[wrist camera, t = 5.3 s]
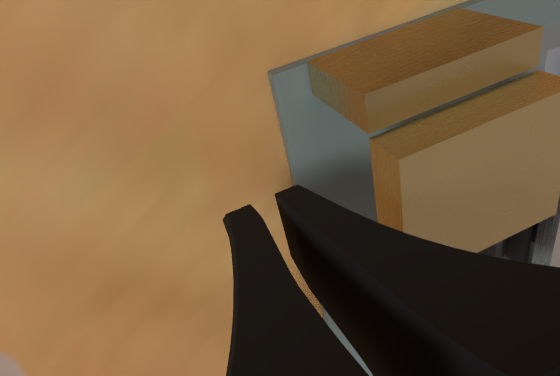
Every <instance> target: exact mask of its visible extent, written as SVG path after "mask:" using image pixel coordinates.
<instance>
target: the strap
mask: <svg viewBox="0 0 560 376" xmlns="http://www.w3.org/2000/svg"><path fill="white" fill-rule="evenodd" d="M531 263H533V264H540V265H547V266H554V267H560V196H559V201H558V206H557V212H556V214H555V215H553V216H551V217H549V218H547V219H545V220H543V221H541V222H539V223H538V229H537V234H536V240H535V245H534V250H533V256H532V261H531Z"/></svg>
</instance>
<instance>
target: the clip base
mask: <svg viewBox="0 0 560 376" xmlns="http://www.w3.org/2000/svg"><path fill="white" fill-rule="evenodd" d="M456 8H462V9H467V10H471V11H476V12H480V13H485V14H489V15H494V16H498V17H503V18H507V19H512V20H516V21H521V22H525V23H530V24H534V25H539V26H543V27H544V28H543V36H542V44H541V51H540V59H539V66H537V67H535V68H532V69H530V70H527V71H525V72H522V73H520V74H517V75H515V76H512V77H510V78H507V79H505V80H502V81H500V82H497V83H495V84H493V85H490V86H488V87H485V88H483V89H480V90H478V91H475V92H473V93H470V94H468V95H465V96H463V97H460V98H458V99H455V100H453V101H450V102H448V103H445V104H443V105H440V106H438V107H435V108H433V109H430V110H428V111H425V112H423V113H420V114H418V115H415V116H413V117H410V118H408V119H406V120H403V121H401V122H398V123H396V124H393V125H391V126H388V127H386V128H383V129H381V130H378V131H376V132H373V133H371V134H367V133H366V132H364V131H363V130H362V129H360V128H359V127H357V126H356V125H355V124H353V123H352V122H350V121H349V120H348V119H346V118H345V117H343V116H342V115H341V114H339V113H338V112H336V111H335V110H333V109H332V108H331V107H329V106H328V105H326V104H325V103H324V102H322V101H321V100H319V99H318V98H317V97H315V96H314V95H313V94H312V88H311V83H310V77H309V71H308V65H307V61H308V60H311V59H314V58H317V57H320V56H322V55H325V54H328V53H331V52H334V51H337V50H339V49H342V48H345V47H348V46H351V45H354V44H356V43H359V42H362V41H365V40H368V39H371V38H373V37H376V36H379V35H382V34H385V33H388V32H391V31H393V30H396V29H399V28H402V27H405V26H408V25H410V24H413V23H416V22H419V21H422V20H425V19H427V18H430V17H433V16H436V15H439V14H442V13H444V12H447V11H450V10H453V9H456ZM536 70H541V71H544V72H547V73H550V74H553V75H557V76H560V0H470V1H467V2H464V3H461V4H458V5H455V6H453V7H450V8H447V9H444V10H441V11H438V12H435V13H433V14H430V15H427V16H424V17H421V18H418V19H415V20H413V21H410V22H407V23H404V24H401V25H398V26H396V27H393V28H390V29H387V30H384V31H381V32H378V33H376V34H373V35H370V36H367V37H364V38H361V39H358V40H356V41H353V42H350V43H347V44H344V45H341V46H339V47H336V48H333V49H330V50H327V51H324V52H321V53H319V54H316V55H313V56H310V57H307V58H304V59H301V60H299V61H296V62H293V63H290V64H287V65H284V66H282V67H279V68H276V69H273V70H270V71H268V75H269V80H270V84H271V88H272V93H273V97H274V102H275V106H276V110H277V115H278V119H279V123H280V128H281V132H282V136H283V141H284V145H285V150H286V154H287V158H288V163H289V167H290V171H291V176H292V180H293V185H294V186H295V185H297V184H298V185H300V186H302V187H304V188H306V189H308V190H310V191H312V192H314V193H316V194H318V195H320V196H322V197H324V198H326V199H328V200H330V201H332V202H334V203H336V204H338V205H340V206H342V207H344V208H346V209H349V210H351V211H353V212H355V213H357V214H360V215H362V216H364V217H366V218H369V219H371V220H373V221H375V222H378V220H377V211H376V201H375V192H374V182H373V172H372V163H371V153H370V144H369V138H370V137H373V136H375V135H378V134H380V133H383V132H385V131H388V130H390V129H393V128H395V127H398V126H400V125H403V124H405V123H407V122H410V121H412V120H415V119H417V118H420V117H422V116H425V115H427V114H430V113H432V112H435V111H437V110H440V109H442V108H445V107H447V106H450V105H452V104H454V103H457V102H459V101H462V100H464V99H467V98H469V97H472V96H474V95H477V94H479V93H482V92H484V91H487V90H489V89H492V88H494V87H497V86H499V85H501V84H504V83H506V82H509V81H511V80H514V79H516V78H519V77H521V76H524V75H526V74H529V73H531V72H534V71H536ZM537 229H538V223H537V224H535V225H533V226H531V227H529V228H527V229H525V230H523V231H520V232H518V233H516V234H514V235H512V236H510V237H508V238H506V239H504V240H502V241H500V242H498V243H496V244H494V245H492V246H490V247H488V248H486V249H484V250H482V251H480V252H478V253H479V254H484V255H489V256H493V257H498V258H503V259H509V260H515V261H520V262H526V263H531V261H532V256H533V250H534V245H535V240H536V234H537ZM321 307H322V311H323V315H324V320H325V322H326V323H327V325H328V326H329V327H330V329H331V330H332V331H333V332H334V334H335V335H336V336H337V338H338V339H339V340H340V341H341V343H342V344H343V345H344V346H345V347H346V349H347V350H348V351H349V352H350V353H351V355H352V356H353V357H354V358H355V359H356V361H357V362H358V363H359V364H360V365H361V367H362V368H363V369H364V370H365V371H366V372H367V374H368V375H369V376H373V375H372V373H371V372H370V370H369V369H368V367H367V366H366V364H365V363H364V361H363V360H362V359H361V357H360V356H359V355H358V353H357V352H356V350H355V349H354V348H353V346H352V345H351V344H350V342H349V341H348V340H347V338H346V337H345V336H344V334H343V333H342V332H341V330H340V329H339V328H338V326H337V325H336V324H335V322H334V321H333V320H332V318H331V317H330V316H329V314H328V313H327V312H326V310H325V309H324V308H323V306H322V305H321Z"/></svg>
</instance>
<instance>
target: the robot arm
mask: <svg viewBox="0 0 560 376" xmlns="http://www.w3.org/2000/svg"><path fill="white" fill-rule="evenodd" d="M275 197H276V201H277V205H278V208H279V212H280V216H281V220H282V224H283V227H284V231H285V235H286V239H287V242H288V246H289V250H290V254H291V257H292V259H293V260H294V262H295V264H296V266H297V268H298V269H299V271H300V273H301V275H302V276H303V278H304V280H305V282H306V283H307V285H308V287H309V288H310V290H311V291H312V293H313V294H314V295H315V297H316V298H317V300H318V301H319V302H320V304H321V305H322V306H323V308H324V309H325V310H326V312H327V313H328V314H329V316H330V317H331V318H332V320H333V321H334V322H335V324H336V325H337V326H338V328H339V329H340V330H341V332H342V333H343V334H344V336H345V337H346V338H347V340H348V341H349V342H350V344H351V345H352V346H353V348H354V349H355V350H356V352H357V353H358V355H359V356H360V357H361V359H362V360H363V361H364V363H365V364H366V366H367V367H368V369H369V370H370V372H371V373H372V375H373V376H560V267H554V266H547V265H540V264H533V263H526V262H520V261H515V260H509V259H503V258H498V257H493V256H489V255H484V254H479V253H475V252H470V251H466V250H462V249H458V248H454V247H450V246H446V245H443V244H439V243H436V242H433V241H429V240H426V239H422V238H419V237H416V236H413V235H410V234H407V233H404V232H401V231H399V230H396V229H394V228H391V227H388V226H386V225H383V224H380V223H378V222H375V221H373V220H371V219H369V218H366V217H364V216H362V215H360V214H357V213H355V212H353V211H351V210H349V209H346V208H344V207H342V206H340V205H338V204H336V203H334V202H332V201H330V200H328V199H326V198H324V197H322V196H320V195H318V194H316V193H314V192H312V191H310V190H308V189H306V188H304V187H302V186H300V185H298V184H297V185H295V186H293V187H290V188H288V189H285V190H283V191H281V192H278V193H276V194H275ZM223 222H224V225H225V228H226V230H227V233H228V236H229V239H230V245H231V252H232V264H233V278H234V294H233V323H232V335H231V345H230V353H229V360H228V366H227V373H226V376H369V375H368V374H367V372H366V371H365V370H364V369H363V368H362V367H361V365H360V364H359V363H358V362H357V361H356V359H355V358H354V357H353V356H352V355H351V353H350V352H349V351H348V350H347V349H346V347H345V346H344V345H343V344H342V343H341V341H340V340H339V339H338V338H337V336H336V335H335V334H334V332H333V331H332V330H331V329H330V327H329V326H328V325H327V323H326V322H325V321H324V320H323V318H322V317H321V316H320V314H319V313H318V312H317V310H316V309H315V308H314V306H313V305H312V304H311V302H310V301H309V300H308V298H307V297H306V296H305V294H304V293H303V291H302V290H301V289H300V287H299V286H298V284H297V283H296V281H295V279H294V278H293V276H292V274H291V273H290V271H289V269H288V267H287V265H286V263H285V261H284V259H283V257H282V255H281V253H280V251H279V249H278V247H277V245H276V243H275V241H274V239H273V238H272V236H271V234H270V232H269V230H268V228H267V226H266V224H265V222H264V220H263V218H262V217H261V216H260V215H259V213H258V212H257V211H256V210H255V209H254V208H253V207H252V206H251V205H250V204H249V205H247V206H244V207H242V208H240V209H237V210H235V211H232V212H230V213H228V214H226V215H225V217H224V219H223Z"/></svg>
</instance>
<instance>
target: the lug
mask: <svg viewBox="0 0 560 376" xmlns="http://www.w3.org/2000/svg"><path fill="white" fill-rule="evenodd" d="M543 28H544V27H543V26H539V25H534V24H530V23H525V22H521V21H516V20H512V19H507V18H503V17H498V16H494V15H489V14H485V13H480V12H476V11H471V10H467V9H462V8H456V9H453V10H450V11H447V12H444V13H442V14H439V15H436V16H433V17H430V18H427V19H425V20H422V21H419V22H416V23H413V24H410V25H408V26H405V27H402V28H399V29H396V30H393V31H391V32H388V33H385V34H382V35H379V36H376V37H373V38H371V39H368V40H365V41H362V42H359V43H356V44H354V45H351V46H348V47H345V48H342V49H339V50H337V51H334V52H331V53H328V54H325V55H322V56H320V57H317V58H314V59H311V60H308V61H307V65H308V71H309V77H310V83H311V88H312V94H313V95H314V96H315V97H317V98H318V99H319V100H321V101H322V102H324V103H325V104H326V105H328V106H329V107H331V108H332V109H333V110H335V111H336V112H338V113H339V114H341V115H342V116H343V117H345V118H346V119H348V120H349V121H350V122H352V123H353V124H355V125H356V126H357V127H359V128H360V129H362V130H363V131H364V132H366V133H367V134H371V133H373V132H376V131H378V130H381V129H383V128H386V127H388V126H391V125H393V124H396V123H398V122H401V121H403V120H406V119H408V118H410V117H413V116H415V115H418V114H420V113H423V112H425V111H428V110H430V109H433V108H435V107H438V106H440V105H443V104H445V103H448V102H450V101H453V100H455V99H458V98H460V97H463V96H465V95H468V94H470V93H473V92H475V91H478V90H480V89H483V88H485V87H488V86H490V85H493V84H495V83H497V82H500V81H502V80H505V79H507V78H510V77H512V76H515V75H517V74H520V73H522V72H525V71H527V70H530V69H532V68H535V67H537V66H539V59H540V51H541V44H542V36H543ZM369 144H370V153H371V163H372V172H373V182H374V192H375V201H376V211H377V220H378V223H380V224H383V225H386V226H388V227H391V228H394V229H396V230H399V231H401V232H404V233H407V234H410V235H413V236H416V237H419V238H422V239H426V240H429V241H433V242H436V243H439V244H443V245H446V246H450V247H454V248H458V249H462V250H466V251H470V252H475V253H478V252H480V251H482V250H484V249H486V248H488V247H490V246H492V245H494V244H496V243H498V242H500V241H502V240H504V239H506V238H508V237H510V236H512V235H514V234H516V233H518V232H520V231H523V230H525V229H527V228H529V227H531V226H533V225H535V224H537V223H539V222H541V221H543V220H545V219H547V218H549V217H551V216H553V215H555V214H556V212H557V206H558V201H559V196H560V76H557V75H553V74H550V73H547V72H544V71H541V70H536V71H534V72H531V73H529V74H526V75H524V76H521V77H519V78H516V79H514V80H511V81H509V82H506V83H504V84H501V85H499V86H497V87H494V88H492V89H489V90H487V91H484V92H482V93H479V94H477V95H474V96H472V97H469V98H467V99H464V100H462V101H459V102H457V103H454V104H452V105H450V106H447V107H445V108H442V109H440V110H437V111H435V112H432V113H430V114H427V115H425V116H422V117H420V118H417V119H415V120H412V121H410V122H407V123H405V124H403V125H400V126H398V127H395V128H393V129H390V130H388V131H385V132H383V133H380V134H378V135H375V136H373V137H370V138H369Z"/></svg>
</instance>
